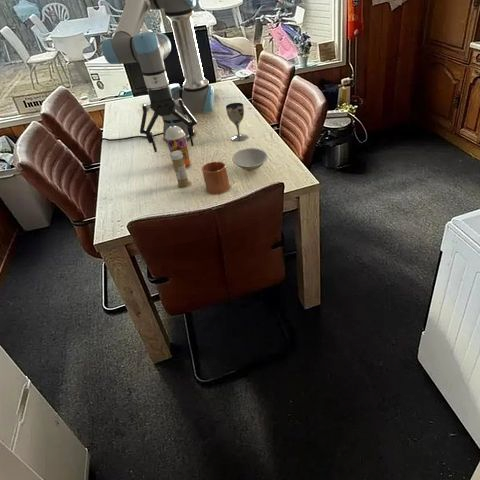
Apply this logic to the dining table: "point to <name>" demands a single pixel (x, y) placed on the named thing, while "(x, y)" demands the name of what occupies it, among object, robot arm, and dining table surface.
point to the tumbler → (215, 177)
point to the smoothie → (177, 142)
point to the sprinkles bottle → (179, 168)
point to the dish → (249, 158)
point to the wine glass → (236, 117)
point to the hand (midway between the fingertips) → (174, 147)
